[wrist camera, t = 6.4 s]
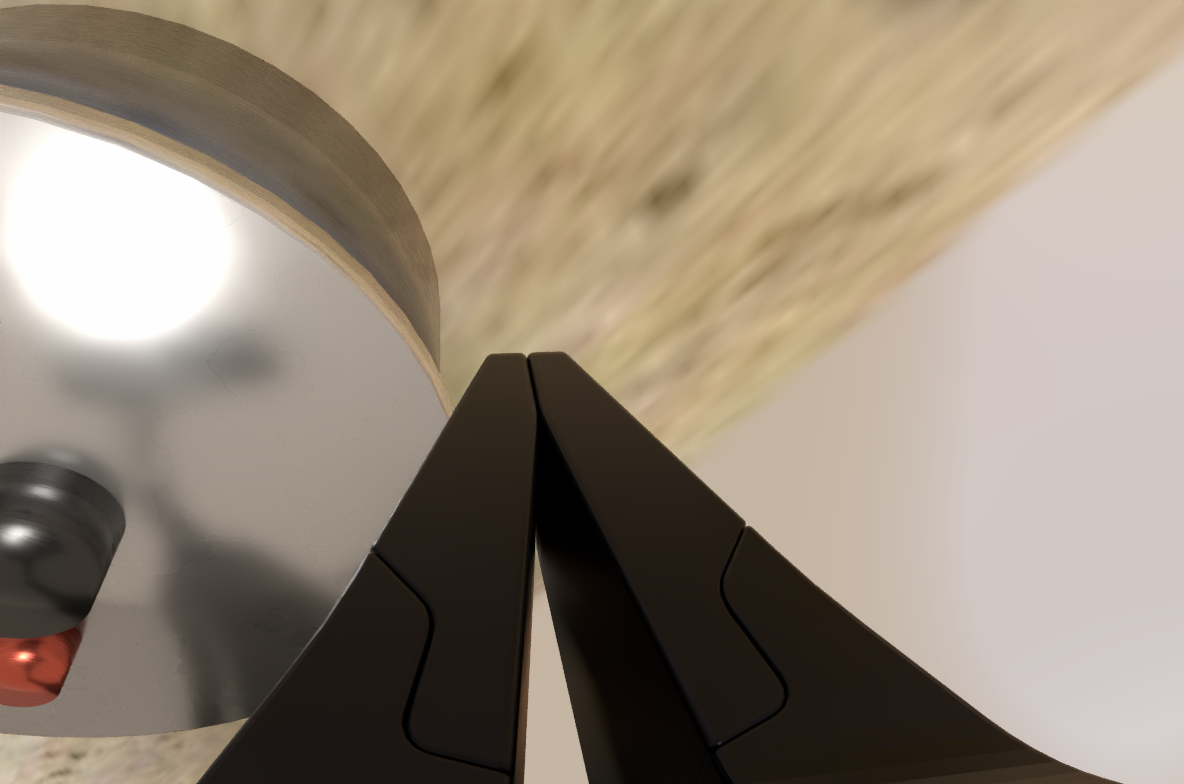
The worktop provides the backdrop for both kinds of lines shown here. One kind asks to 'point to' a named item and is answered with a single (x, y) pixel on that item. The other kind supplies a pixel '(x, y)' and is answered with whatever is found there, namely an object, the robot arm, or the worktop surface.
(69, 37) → the cooker pot
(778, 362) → the worktop surface
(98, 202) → the cooker lid
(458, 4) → the worktop surface
